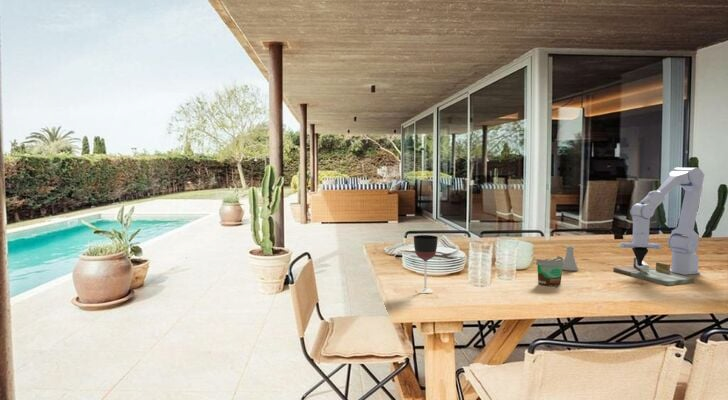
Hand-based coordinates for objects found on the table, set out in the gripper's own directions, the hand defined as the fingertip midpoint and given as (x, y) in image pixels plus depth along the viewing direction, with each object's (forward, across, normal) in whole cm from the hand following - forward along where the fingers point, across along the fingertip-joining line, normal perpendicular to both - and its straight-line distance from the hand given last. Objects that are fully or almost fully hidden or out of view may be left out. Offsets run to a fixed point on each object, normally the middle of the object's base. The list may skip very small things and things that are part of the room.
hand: (639, 265), depth 185 cm
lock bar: (+2, +2, +3) cm, 4 cm away
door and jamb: (+4, +4, -2) cm, 6 cm away
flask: (+4, -26, +5) cm, 27 cm away
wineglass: (+4, -84, -40) cm, 94 cm away
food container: (+4, -37, -22) cm, 44 cm away
